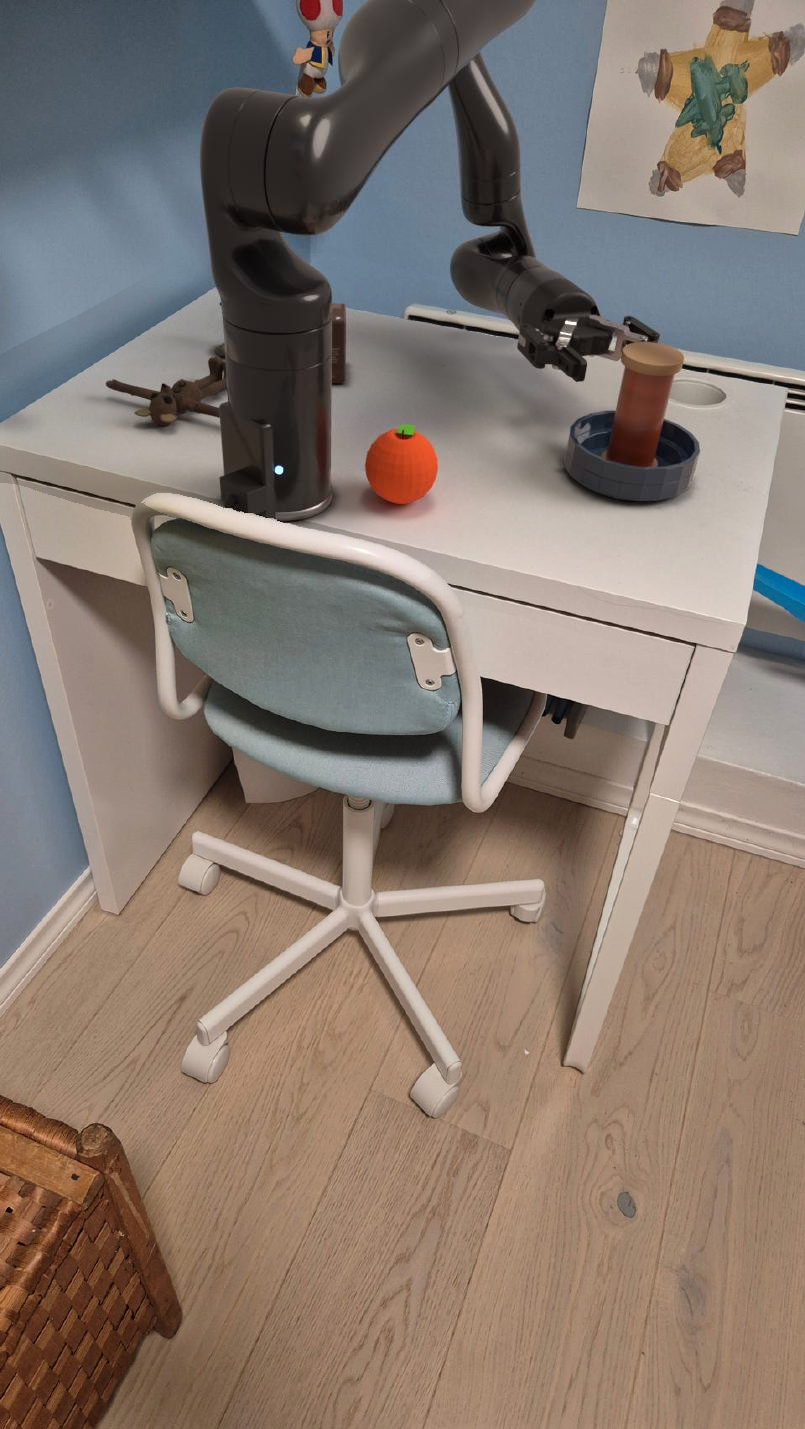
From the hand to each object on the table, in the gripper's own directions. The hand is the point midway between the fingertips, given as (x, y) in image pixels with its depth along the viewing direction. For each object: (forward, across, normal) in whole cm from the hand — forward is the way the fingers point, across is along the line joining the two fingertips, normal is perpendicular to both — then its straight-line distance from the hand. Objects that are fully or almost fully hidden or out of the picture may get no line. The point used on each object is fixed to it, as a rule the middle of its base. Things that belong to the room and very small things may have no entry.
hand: (620, 369), depth 99 cm
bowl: (+5, 0, +9) cm, 10 cm away
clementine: (+4, -24, +9) cm, 26 cm away
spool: (+5, 0, +8) cm, 10 cm away
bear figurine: (-21, -40, +9) cm, 46 cm away
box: (-26, -24, +9) cm, 37 cm away
